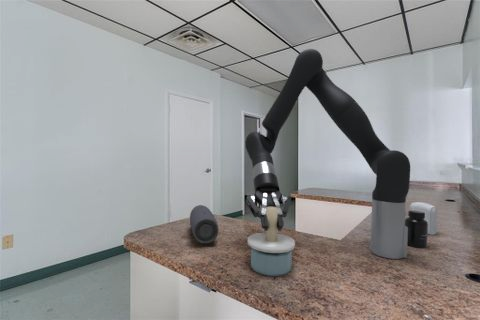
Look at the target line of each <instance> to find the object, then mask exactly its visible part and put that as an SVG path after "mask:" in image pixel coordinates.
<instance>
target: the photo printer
mask: <svg viewBox="0 0 480 320" xmlns="http://www.w3.org/2000/svg"><path fill="white" fill-rule="evenodd" d="M410 210H413V211H421V212H424V213H425V218H424V220H426V221H427V223H428V235H431V236H434V235H437V227H438V226H437V225H438V224H437V223H438V222H437V221H438V220H437V219H438V208H436V206H434V205H432V204H429V203H427V202H421V201H416V202H412V203H410V205H409V211H410Z"/></svg>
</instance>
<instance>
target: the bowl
mask: <svg viewBox="0 0 480 320" xmlns="http://www.w3.org/2000/svg"><path fill="white" fill-rule="evenodd" d="M292 256H293V250H291V251H288V252H284V253H267V252H262V251H258V250H255V249H253V248H251V247H250V268H251V269H252V270H253V271H254V272H255V273H258V274H260V275H262V276H263V275H264V276H269V277H270V276H271V277H279V276H284V275H287V274H289V273H290V271H291V270H292V265H293V264H292V258H293V257H292Z"/></svg>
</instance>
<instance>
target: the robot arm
mask: <svg viewBox="0 0 480 320" xmlns="http://www.w3.org/2000/svg"><path fill="white" fill-rule="evenodd" d="M323 64H324V62H323V56H322V54H321V53H320V51H318V50H317V49H314V48H307V49H304V50H302V51H301V52H300V53H299V54H298V55H297V57H296V59H295V61H294V64H293V66H292V68H291V71H290V73H289V75H288V77H287V80H286V81H285V83H284V85H283V87H282V89H281V91H280V92H279V93H278V96H277V97H276V99H274V100H275V101H274V102H273V104H272V105H271V107H270V108H269V110H268V112H267V113H266V115H265V117H264V118H263V120H262V122H261V126H262V127H263V128H264V129H265V131H266V136H265V135H264V134H262V133H260V132H258V131H252V132H250V133H248V134H247V136H246V138H245V141H244V142H245V143H244V145H245V149H246V152H247V154H248V156H249V158H250V160H251V165H252V181H253V189H254V195H247V196H246V200H245V203H246V205H247V206H248V208H249V210H250V212H251V214H252V215H253V217H254V218H257V217H258V218H260V225H261V229H262V230H264V232H266V231H267V230H268V222H267V215H266V207H270V206H271V207H277V208H278V221H277V232H280V231H282V230H283V228H284V224H285V223H284V219H283V218H286V217H287V214H288V213H289V209H290V206H291V201H292V197H291V196H290V195H288V196H284V195H283V194H282V193H281V190H280V185H279V181H278V177H277V176H278V175H277V171H276V168H275V166H274V160H273V159H274V158H273V157H272V153H273V151H274V150H275V147H276V143H277V140H278V137H279V135H280V132H281V129H282V128H283V126H284V124H285V123H286V122H287V120H288V119H289V117H290V115H291V113H292V111H293V109H294V107H295V105H296V102H297V100H299V99H298V98H299V97H300V95H301V94H302V92H303V91H304V89H305V87H306V88H307V89H308V91H310V92H311V93H312V95H314V96H315V98H316V99H317V100H318V103H320V105H321V106H322V108H323V109H324V111H325V112H326V114H328V116H329V118H330V119H331V120H332V122H333V123H334V124H335V125H336V126H337V127H338V129H339V130H340V131H341V132H342V133H343V134H344V135H345V137H346V138H347V139H348V140H349V141H350V142H351V143H352V144H353V145H354V146H355V147H356V148H357V150H358V151H359V152H360V154H361V155H362V157H363V158H364V159H365V161H366V163H367V164H368V166H369V167H370V169H371V171H372V172H373V173H374V175H376V176H375V177H376V179H375V186H374V189H373V190H372V193H371V194H372V195H371V199H372V200H371V225H370V244H369V245H370V248H369V249H370V252H371V253H372V254H374V255H376V256H378V257H382V258H386V259H392V260H399V259H403V258H404V259H408V245H407V240H408V227H407V226H405V219H406V203H407V202H406V200H407V196H408V194H409V192H410V179H411V162H410V159H409V157H408V156H407V155H406V154H405V153H404V152H402V151H400V150H395V149H394V150H392V149H390V148H388V147H387V146H386V145H385V144H384V142H383V141H382V140H381V139H380V138H379V137H378V135H377V133H376V132H375V130H374V128H373V126H372V122H371V121H370V119H369V116H368V115H367V114H366V112H365V111H364V109H363V108H362V107H361V105H359V103H358V102H357V101H356V100H355V99H354V97H352V96H351V95H350V94H349V93H348V92H346V91H345V90H344V89H341V87H339V86H337V85H336V84H335V83H334V82H333V80H331V79H330V77H329V76H328V74H327V73H326V72H325V70H324V68H323ZM281 201H282V203H283V205H284V206H283V210H282V209H281V205H280V203H281ZM255 202H256V203H257V204H258V205H259V206H260V210H259V208H258V206H257V205H256V203H255Z"/></svg>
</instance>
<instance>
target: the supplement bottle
mask: <svg viewBox="0 0 480 320" xmlns="http://www.w3.org/2000/svg"><path fill="white" fill-rule="evenodd" d="M407 213H408V215H407V216H408V217H405V226H407V227H408V240H407V246H410V247H413V248H418V249H423V248H427V247H428V236H429V234H428V223H427V221H426V220H424V218H425V213H424V212H421V211H413V210H410V209H409V210H408V212H407Z"/></svg>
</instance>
